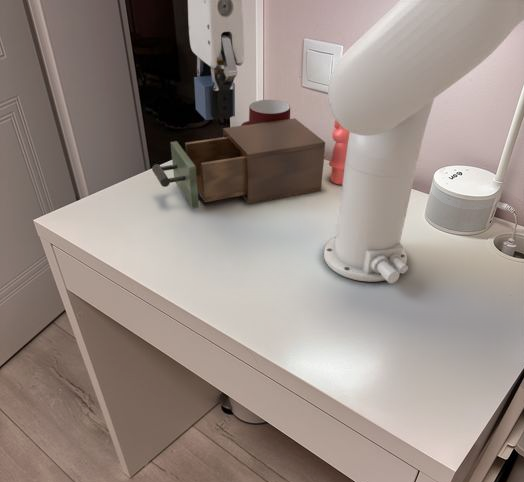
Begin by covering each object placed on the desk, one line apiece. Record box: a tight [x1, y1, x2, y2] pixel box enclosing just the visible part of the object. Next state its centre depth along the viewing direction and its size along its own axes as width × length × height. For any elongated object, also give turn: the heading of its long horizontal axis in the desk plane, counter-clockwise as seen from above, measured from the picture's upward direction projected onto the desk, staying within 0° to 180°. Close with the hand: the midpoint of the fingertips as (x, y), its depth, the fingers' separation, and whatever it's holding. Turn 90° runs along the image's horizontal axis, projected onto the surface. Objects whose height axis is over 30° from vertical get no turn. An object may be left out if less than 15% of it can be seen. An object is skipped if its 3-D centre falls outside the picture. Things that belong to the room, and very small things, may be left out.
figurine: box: [328, 118, 350, 186], centre depth 98 cm, size 5×5×15 cm
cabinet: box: [222, 117, 326, 205], centre depth 99 cm, size 15×13×9 cm
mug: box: [240, 99, 291, 126], centre depth 107 cm, size 11×8×10 cm
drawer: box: [151, 136, 247, 209], centre depth 95 cm, size 18×11×7 cm, turn 113°
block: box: [193, 74, 236, 121], centre depth 79 cm, size 5×5×5 cm
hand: (215, 110), depth 80 cm, fingers closed on block, 4 cm apart
